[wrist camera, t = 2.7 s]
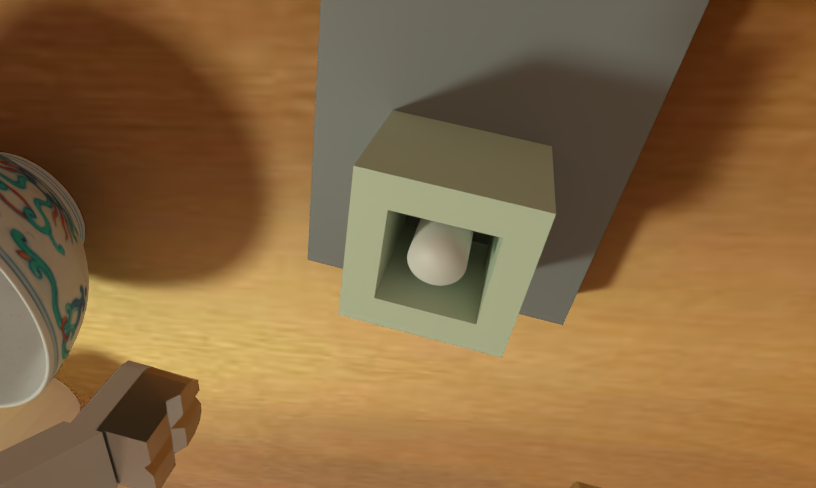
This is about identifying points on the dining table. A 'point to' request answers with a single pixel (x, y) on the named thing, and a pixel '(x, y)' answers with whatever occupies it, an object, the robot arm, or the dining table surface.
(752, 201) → the dining table surface
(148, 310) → the dining table surface
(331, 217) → the stand board
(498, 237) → the collar block
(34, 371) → the chinaware
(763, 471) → the dining table surface
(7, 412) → the shot glass
